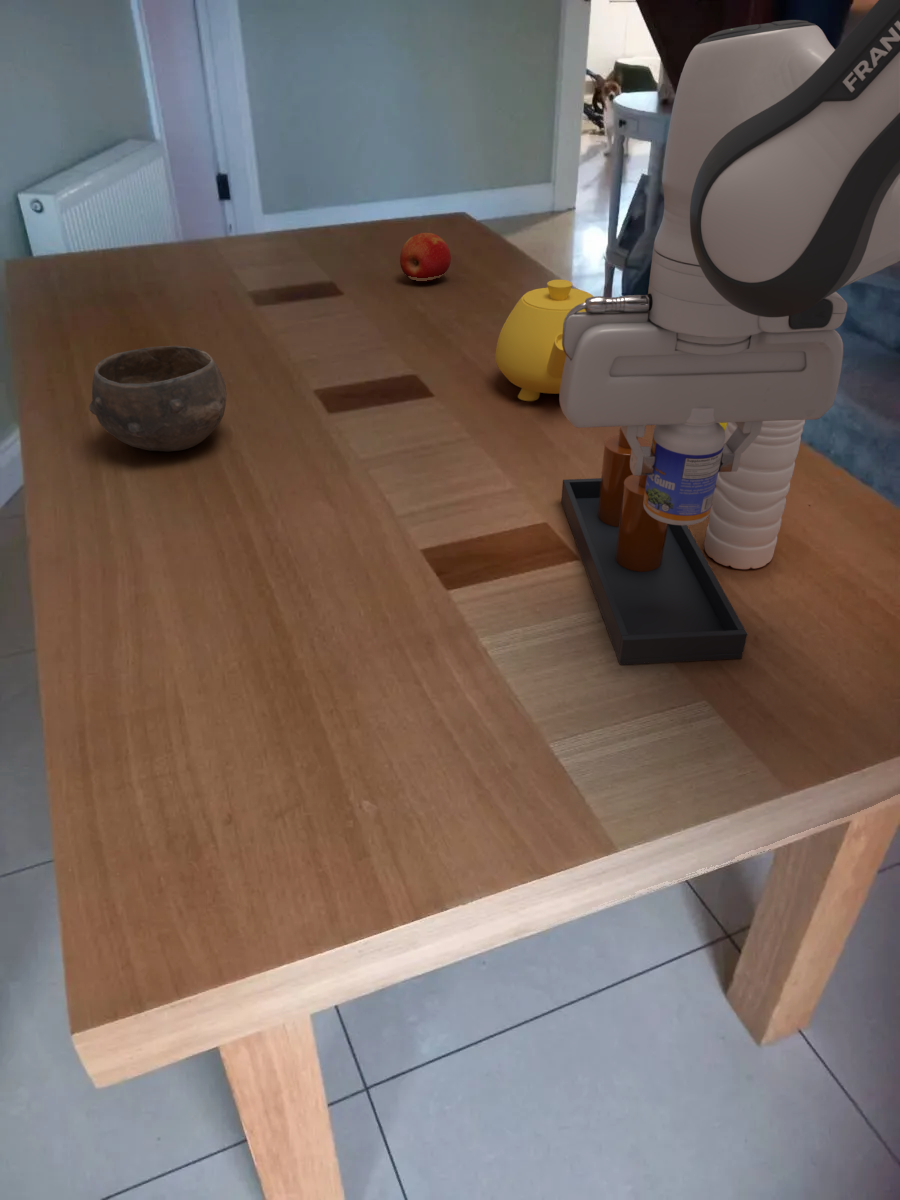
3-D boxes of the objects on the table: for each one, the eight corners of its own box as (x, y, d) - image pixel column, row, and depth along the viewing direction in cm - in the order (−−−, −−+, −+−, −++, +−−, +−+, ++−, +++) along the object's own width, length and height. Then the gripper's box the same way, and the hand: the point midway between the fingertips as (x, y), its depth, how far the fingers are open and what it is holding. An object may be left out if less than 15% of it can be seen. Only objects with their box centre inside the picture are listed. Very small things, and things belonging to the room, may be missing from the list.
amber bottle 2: (655, 545, 89) (670, 441, 82) (667, 570, 85) (684, 463, 79) (610, 547, 88) (622, 443, 82) (620, 573, 85) (634, 465, 78)
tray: (561, 501, 97) (562, 479, 95) (656, 497, 98) (659, 475, 96) (619, 665, 75) (623, 640, 73) (742, 658, 75) (747, 633, 74)
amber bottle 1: (635, 504, 95) (648, 405, 89) (645, 526, 91) (660, 424, 85) (593, 506, 95) (603, 406, 88) (602, 528, 91) (613, 426, 85)
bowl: (240, 460, 105) (228, 376, 99) (99, 480, 101) (77, 394, 95) (226, 412, 116) (214, 334, 110) (98, 428, 112) (78, 348, 106)
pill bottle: (630, 499, 76) (645, 388, 70) (689, 490, 77) (708, 379, 72) (662, 532, 72) (680, 416, 66) (723, 521, 73) (746, 407, 67)
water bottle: (749, 579, 85) (809, 309, 70) (689, 551, 89) (735, 290, 74) (797, 544, 90) (863, 285, 75) (739, 520, 94) (791, 269, 79)
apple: (457, 281, 161) (457, 233, 156) (424, 292, 156) (424, 243, 151) (424, 272, 165) (423, 225, 160) (391, 282, 160) (389, 234, 155)
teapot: (622, 427, 112) (635, 314, 104) (494, 425, 112) (497, 313, 104) (606, 365, 128) (616, 264, 120) (494, 364, 129) (497, 263, 121)
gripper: (573, 312, 61) (559, 495, 69) (871, 304, 62) (823, 484, 70) (557, 283, 66) (546, 457, 74) (832, 276, 67) (792, 448, 75)
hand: (683, 470), depth 72 cm, fingers closed on pill bottle, 5 cm apart
